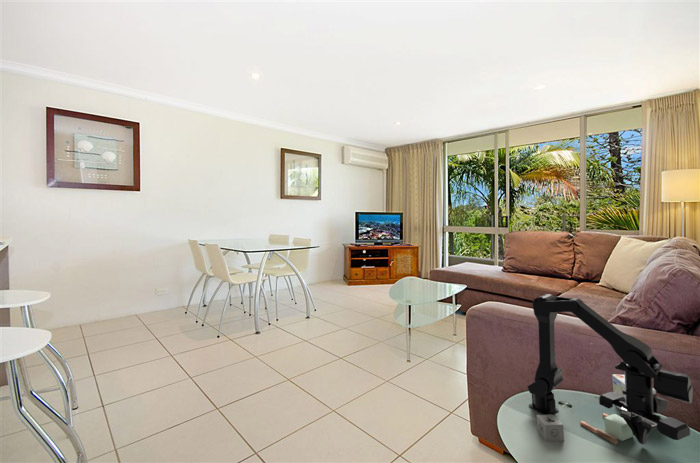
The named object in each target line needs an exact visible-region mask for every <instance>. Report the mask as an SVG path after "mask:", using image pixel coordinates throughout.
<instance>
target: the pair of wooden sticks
mask: <svg viewBox="0 0 700 463" xmlns="http://www.w3.org/2000/svg"><path fill="white" fill-rule="evenodd" d="M607 416H610V415H609V414H607V413H605V412H604V413H602V418H603V419H605V417H607ZM579 423H580V425H581V426H582V427H583V428H585V429H587V430H589V431H591V432H593V433H594V434H596V435H598V436H599V437H602V438H603V439H605V440H607V441H609V443H610V442H611V443H612V444H614V445H617V444H619V443H618V442H619V441H618V440H619V439H618V438H616V437H614V436H612V435H611V434H609V433H607V432H605V430H603V429H602V428H596V427H595V426H592V425H591V424H589V423H588V422H585V421H584V420H581V421H579Z"/></svg>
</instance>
